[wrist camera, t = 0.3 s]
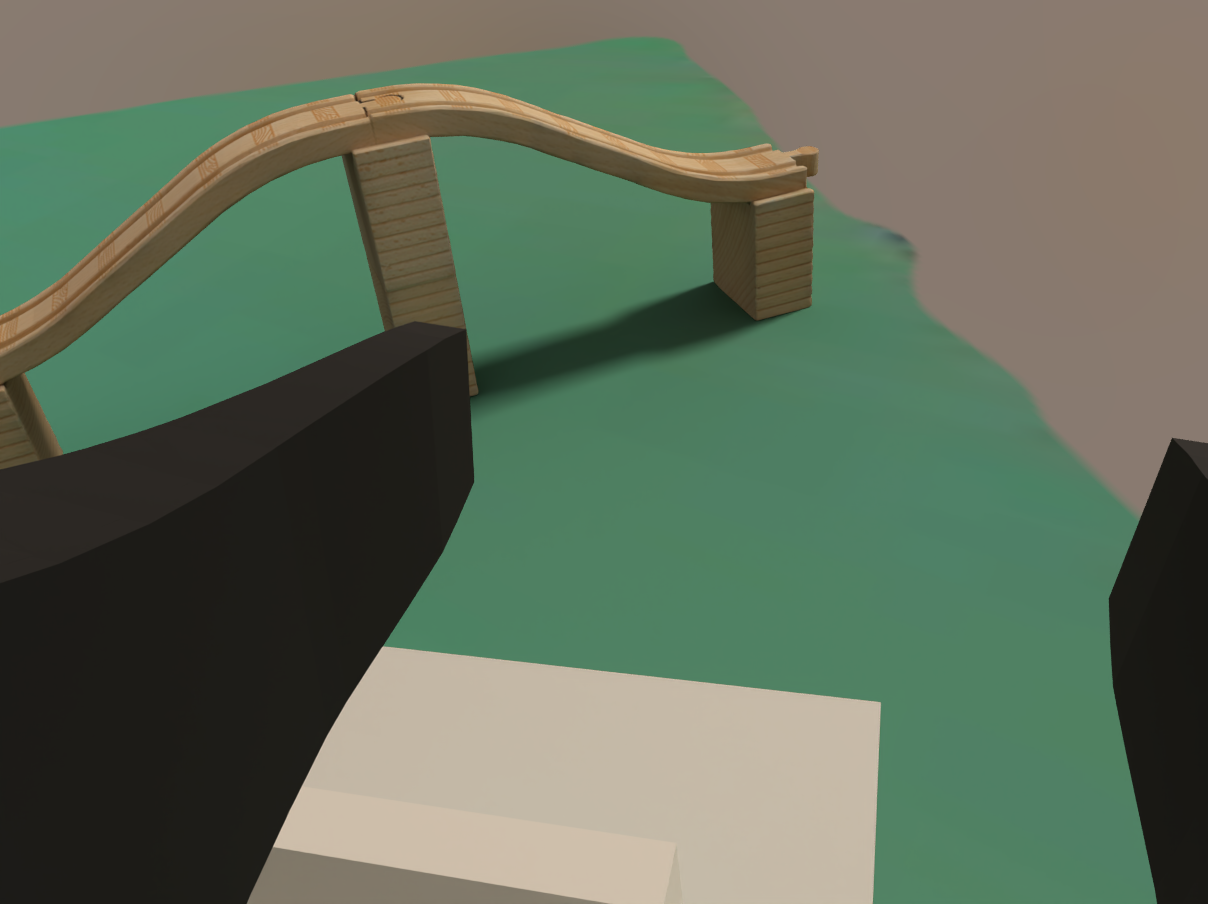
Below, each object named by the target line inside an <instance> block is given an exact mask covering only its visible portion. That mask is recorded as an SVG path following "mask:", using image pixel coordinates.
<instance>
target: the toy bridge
mask: <svg viewBox="0 0 1208 904" xmlns="http://www.w3.org/2000/svg"><path fill="white" fill-rule="evenodd" d="M448 136H472V137H480V138H487V139H493V140H500V141H505V142H510V143H514V144H518V145H522V146H526V147H529V148H532V149H535V150H537V151H540V152H543V153H546V154H548V155H551V156H554V157H557V158H560V159H564V160H567V161H570V162H574V163H576V164H579V165H582V166H585V167H588V168H591V169H594V170H597V171H600V172H603V173H606V174H609V175H612V176H616V177H619V178H622V179H625V180H628V181H631V182H634V183H636V184H638V185H641V186H644V187H647V188H650V189H653V190H656V191H659V192H662V193H665V194H669V195H673V196H677V197H680V198H684V199H689V200H695V201H701V202H707V203H711V227H712V249H713V269H714V274H713V278H714V282H715V283H716V284H717V285H718V287H719V288H720V289H721V290H723V291H724V292H725V293H726V294H727V295H728V296H729V297H730V298H731V299H732V300H734V301H735V302H736V303H737V304H738V305H739V306H740V307H741V308H742V309H743V310H745V311H746V312H747V313H748V314H749V315H750V316H751V317H752V318H754V319H755V320H761V319H765V318H769V317H773V316H777V315H781V314H784V313H788V312H792V311H796V310H800V309H803V308H807V307H810V306H811V305H812V298H811V294H812V286H811V284H812V269H813V266H812V259H813V253H812V248H813V222H814V221H813V211H814V207H813V200H814V191H813V190H812V189H808V188H807V187H806V179H807V177H810V176H814V175H816V174H817V172H818V154H819V153H818V152H819V151H818V149H817V148H814V147H811V146H807V147H801V148H799V149H797V150H795V151H790V152H785V153H782V152H780V151H779V150H775V151H772V147H771V145H770V144H763V145H758V146H754V147H749V148H745V149H740V150H734V151H727V152H718V153H685V152H677V151H670V150H665V149H660V148H656V147H651V146H648V145H645V144H642V143H639V142H636V141H634V140H631V139H628V138H625V137H623V136H620V135H617V134H614V133H611V132H608V131H605V130H602V129H599V128H597V127H594V126H591V125H588V124H585V123H583V122H580V121H577V120H574V119H571V118H569V117H565V116H562V115H558V114H555V113H552V112H550V111H547V110H545V109H542V108H539V107H537V106H534V105H531V104H528V103H526V102H523V101H520V100H517V99H514V98H511V97H508V96H505V95H502V94H498V93H494V92H490V91H486V90H482V89H478V88H473V87H466V86H460V85H448V84H404V85H393V86H387V87H381V88H375V89H369V90H363V91H359V92H357V93H355V95H351V94H349V95H344V96H339V97H334V98H330V99H325V100H320V101H316V102H312V103H308V104H304V105H300V106H296V107H292V108H289V109H286V110H283V111H280V112H277V113H273V114H271V115H269V116H267V117H264V118H262V119H260V120H258V121H256V122H253V123H251V124H249V125H247V126H245V127H242V128H241V129H239V130H237V131H236V132H234V133H232V134H231V135H229V136H227V137H226V138H224V139H222V140H221V141H219V142H217V143H216V144H215V145H213V146H212V147H210V148H209V149H208V150H206V151H205V152H203V153H202V154H201V155H200V156H198V157H197V158H196V159H195V160H193V161H192V162H191V163H190V164H188V165H187V166H186V167H185V168H184V169H183V170H182V171H181V172H180V173H178V174H177V175H176V176H175V177H174V178H173V179H172V180H171V181H170V182H168V183H167V184H166V185H165V186H164V187H163V188H162V189H161V190H160V191H158V192H157V193H156V194H155V195H154V196H153V197H152V198H151V199H150V200H148V201H147V202H146V203H145V204H144V205H143V206H142V207H140V208H139V209H138V210H137V211H136V212H135V213H133V214H132V215H131V216H130V217H129V218H128V219H127V220H126V221H124V222H123V223H122V224H121V225H120V226H119V227H118V228H117V229H116V230H114V231H113V232H112V233H111V234H110V235H109V236H108V237H107V238H105V239H104V240H103V241H102V242H101V243H100V244H99V245H98V246H97V247H96V248H94V249H93V250H92V251H91V252H90V253H89V254H88V255H87V256H86V257H84V258H83V259H82V260H81V261H80V262H79V263H78V264H77V265H76V266H75V267H73V268H72V269H71V270H70V271H69V272H68V273H67V274H66V275H65V276H63V277H62V278H61V279H60V280H59V281H57V282H56V283H54V284H53V285H51V286H50V287H49V288H47V289H46V290H44V291H43V292H41V293H40V294H38V295H37V296H35V297H34V298H32V299H30V300H29V301H27V302H25V303H24V304H22V305H20V306H19V307H17V308H15V309H13V310H11V311H9V312H7V313H5V314H3V315H0V469H4V468H9V467H13V466H17V465H21V464H26V463H30V462H34V461H38V460H43V459H47V458H51V457H55V456H60V455H63V451H62V449H61V447H60V445H59V444H58V441H57V439H56V436H55V434H54V433H53V431H52V429H51V426H50V424H49V423H48V421H47V419H46V417H45V414H44V412H43V410H42V408H41V406H40V404H39V401H38V400H37V398H36V396H35V394H34V392H33V390H32V387H31V385H30V383H29V381H28V379H27V377H26V375H25V372H27V371H29V370H31V369H33V368H35V367H36V366H38V365H40V364H42V363H43V362H45V361H46V360H48V359H50V358H51V357H53V356H55V355H56V354H58V353H59V352H61V351H62V350H64V349H65V348H67V347H68V346H69V345H70V344H72V343H73V342H74V341H76V340H77V339H78V338H79V337H81V336H82V335H83V334H84V333H86V332H87V331H88V330H89V329H90V328H92V327H93V326H94V325H95V324H96V323H97V322H98V321H100V320H101V319H102V318H103V317H104V316H105V315H106V314H108V313H109V312H110V311H111V310H112V309H113V308H114V307H115V306H116V305H118V304H119V303H120V302H121V301H122V300H123V299H124V298H125V297H126V296H128V295H129V294H130V293H131V292H132V291H134V290H135V289H136V288H137V287H138V286H140V285H141V284H142V283H143V282H144V281H145V280H146V279H148V278H149V277H150V276H151V275H152V274H153V273H155V272H156V271H157V270H158V269H159V268H160V267H161V266H163V265H164V264H165V263H166V262H167V261H168V260H169V259H171V258H172V257H173V256H174V255H175V254H176V253H177V252H178V251H180V250H181V249H182V248H183V247H184V246H185V245H186V244H188V243H189V242H190V241H191V240H192V239H193V238H194V237H196V236H197V235H198V234H199V233H200V232H201V231H202V230H203V229H205V228H206V227H207V226H208V225H209V224H210V223H211V222H213V221H214V220H215V219H216V218H217V217H218V216H219V215H221V214H222V213H223V212H224V211H226V210H227V209H229V208H230V207H231V206H233V205H234V204H236V203H237V202H238V201H240V200H241V199H243V198H244V197H245V196H247V195H248V194H250V193H252V192H253V191H255V190H257V189H258V188H260V187H262V186H264V185H265V184H267V183H269V182H270V181H272V180H274V179H277V178H279V177H281V176H283V175H285V174H287V173H290V172H292V171H294V170H297V169H299V168H302V167H304V166H307V165H310V164H313V163H316V162H320V161H323V160H326V159H329V158H333V157H337V156H341V155H342V159H343V163H344V167H345V171H346V175H347V179H348V183H349V187H350V191H351V195H352V199H353V203H354V208H355V212H356V216H357V220H358V224H359V228H360V232H361V236H362V240H363V244H364V247H365V251H366V255H367V260H368V264H369V268H370V272H371V276H372V280H373V284H374V288H375V292H376V296H377V300H378V305H379V309H380V313H381V317H382V321H383V325H384V329H385V331H387V330H390V329H393V328H395V327H398V326H401V325H404V324H407V323H411V322H414V321H417V322H423V323H430V324H436V325H443V326H449V327H456V328H462V329H466V325H465V320H464V314H463V309H462V304H461V299H460V294H459V288H458V283H457V278H456V273H455V266H454V261H453V256H452V251H451V245H450V240H449V236H448V231H447V226H446V221H445V215H444V209H443V204H442V199H441V194H440V189H439V183H438V179H437V172H436V167H435V163H434V156H433V152H432V149H431V141H430V137H448ZM466 334H467V330H466ZM467 353H468V372H469V391H470V396H474V395H477V394H478V387H477V383H476V377H475V372H474V367H473V361H472V356H471V351H470V345H469V340H468V336H467Z"/></svg>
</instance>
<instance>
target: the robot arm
mask: <svg viewBox="0 0 1208 904" xmlns="http://www.w3.org/2000/svg"><path fill="white" fill-rule="evenodd" d="M473 483H474V467H473V448H472V429H471V410H470V391H469V372H468V353H467V334H466V329H462V328H456V327H449V326H443V325H436V324H430V323H423V322H417V321H414V322H411V323H407V324H404V325H401V326H398V327H395V328H393V329H390V330H387V331H385V332H382V333H380V334H377V335H375V336H373V337H370V338H368V339H366V340H363V341H361V342H359V343H357V344H354V345H352V346H350V347H348V348H345V349H343V350H341V351H339V352H336V353H334V354H332V355H330V356H327V357H325V358H323V359H321V360H318V361H316V362H314V363H312V364H309V365H307V366H305V367H303V368H300V369H298V370H296V371H294V372H291V373H289V374H287V375H285V376H282V377H280V378H278V379H276V380H273V381H271V382H269V383H266V384H264V385H262V386H259V387H257V388H254V389H252V390H249V391H247V392H244V393H242V394H239V395H237V396H234V397H232V398H229V399H227V400H224V401H222V402H219V403H217V404H214V405H212V406H209V407H207V408H204V409H202V410H199V411H197V412H194V413H192V414H189V415H186V416H184V417H181V418H178V419H176V420H173V421H170V422H167V423H164V424H162V425H159V426H156V427H153V428H150V429H147V430H144V431H141V432H138V433H135V434H132V435H128V436H125V437H122V438H118V439H115V440H112V441H109V442H105V443H102V444H99V445H95V446H92V447H89V448H86V449H82V450H78V451H75V452H71V453H67V454H64V455H60V456H55V457H51V458H47V459H43V460H38V461H34V462H30V463H26V464H21V465H17V466H13V467H9V468H4V469H0V904H247V902H248V900H249V897H250V895H251V893H252V891H253V889H254V887H255V884H256V882H257V880H258V878H259V876H260V874H261V871H262V869H263V867H264V865H265V863H266V861H267V859H268V856H269V854H270V852H271V850H272V848H273V846H274V844H275V841H276V839H277V837H278V835H279V833H280V831H281V828H282V826H283V824H284V822H285V820H286V818H287V816H288V813H289V811H290V809H291V807H292V805H293V803H294V801H295V799H296V797H297V795H298V793H299V791H300V789H301V787H302V785H303V783H304V781H305V779H306V777H307V775H308V773H309V771H310V769H311V767H312V765H313V763H314V761H315V759H316V757H317V755H318V753H319V751H320V749H321V747H322V745H323V743H324V741H325V739H326V737H327V735H328V733H329V732H330V730H331V728H332V726H333V725H334V723H335V721H336V720H337V718H338V716H339V714H340V713H341V711H342V709H343V708H344V706H345V704H346V702H347V701H348V699H349V698H350V696H351V695H352V693H353V691H354V690H355V688H356V687H357V685H358V684H359V682H360V681H361V679H362V678H363V676H364V674H365V673H366V671H367V670H368V668H369V667H370V665H371V664H372V662H373V661H374V659H375V657H376V656H377V654H378V653H379V651H380V650H381V648H382V647H383V645H384V644H385V642H386V640H387V639H388V637H389V636H390V634H391V633H392V631H393V630H394V628H395V627H396V625H397V624H398V622H399V620H400V619H401V617H402V616H403V614H404V613H405V611H406V610H407V608H408V607H409V605H410V603H411V602H412V600H413V599H414V597H415V596H416V594H417V592H418V591H419V589H420V588H421V586H422V584H423V583H424V581H425V580H426V578H427V577H428V575H429V573H430V572H431V570H432V569H433V567H434V565H435V564H436V562H437V561H438V559H439V557H440V556H441V554H442V552H443V550H444V548H445V546H446V544H447V542H448V540H449V538H450V535H451V533H452V531H453V529H454V527H455V525H456V523H457V521H458V518H459V516H460V514H461V511H462V509H463V507H464V504H465V502H466V500H467V497H468V495H469V493H470V490H471V488H472V486H473ZM1109 618H1110V647H1111V662H1112V678H1113V689H1114V694H1115V699H1116V705H1117V710H1118V715H1119V720H1120V725H1121V730H1122V735H1123V740H1124V745H1125V750H1126V755H1127V759H1128V764H1129V769H1130V774H1131V778H1132V783H1133V788H1134V793H1135V797H1136V802H1137V807H1138V812H1139V816H1140V821H1141V826H1142V831H1143V835H1144V840H1145V845H1146V850H1147V854H1148V859H1149V864H1150V869H1151V873H1152V878H1153V883H1154V888H1155V893H1156V899H1157V904H1208V443H1201V442H1195V441H1189V440H1183V439H1176V438H1172V440H1171V442H1170V445H1169V447H1168V450H1167V452H1166V455H1165V457H1164V460H1163V463H1162V465H1161V468H1160V470H1159V473H1158V476H1157V478H1156V480H1155V483H1154V485H1153V488H1152V490H1151V493H1150V496H1149V499H1148V501H1147V503H1146V506H1145V508H1144V511H1143V513H1142V516H1141V518H1140V521H1139V523H1138V526H1137V528H1136V531H1135V533H1134V536H1133V539H1132V541H1131V544H1130V546H1129V549H1128V551H1127V554H1126V556H1125V559H1124V561H1123V564H1122V567H1121V569H1120V572H1119V574H1118V577H1117V579H1116V582H1115V584H1114V587H1113V589H1112V592H1111V594H1110V597H1109Z"/></svg>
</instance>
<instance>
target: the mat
mask: <svg viewBox="0 0 1208 904" xmlns="http://www.w3.org/2000/svg"><path fill="white" fill-rule="evenodd" d="M880 707H881V702H873V701H864V700H855V699H846V698H837V697H828V696H819V695H810V694H802V693H793V692H784V691H775V690H766V689H757V688H748V687H739V686H730V685H721V684H712V683H704V682H695V681H686V680H677V679H668V678H659V677H650V676H641V675H632V674H623V673H614V672H606V671H597V670H588V669H579V668H570V667H561V666H552V665H543V664H534V663H525V662H516V661H508V660H499V659H490V658H481V657H472V656H463V655H454V654H445V653H436V652H427V651H418V650H410V649H401V648H392V647H382V648H381V650H380V651H379V653H378V654H377V656H376V657H375V659H374V661H373V662H372V664H371V665H370V667H369V668H368V670H367V671H366V673H365V674H364V676H363V678H362V679H361V681H360V682H359V684H358V685H357V687H356V688H355V690H354V691H353V693H352V695H351V696H350V698H349V699H348V701H347V702H346V704H345V706H344V708H343V709H342V711H341V713H340V714H339V716H338V718H337V720H336V721H335V723H334V725H333V726H332V728H331V730H330V732H329V733H328V735H327V737H326V739H325V741H324V743H323V745H322V747H321V749H320V751H319V753H318V755H317V757H316V759H315V761H314V763H313V765H312V767H311V769H310V771H309V773H308V775H307V777H306V779H305V781H304V783H303V785H302V786H303V787H310V788H316V789H323V790H329V791H336V792H343V793H349V794H356V795H362V796H369V797H376V798H382V799H389V800H396V801H402V802H409V803H415V804H422V805H429V806H435V807H442V808H448V809H455V810H462V811H468V812H475V813H481V814H488V815H495V816H501V817H508V818H515V819H521V820H528V821H534V822H541V823H548V824H554V825H561V826H567V827H574V828H581V829H587V830H594V831H601V832H607V833H614V834H620V835H627V836H634V837H640V838H647V839H653V840H660V841H667V842H673V843H677V852H678V862H679V872H680V881H681V891H682V901H683V904H873V883H874V858H875V833H876V808H877V783H878V757H879V732H880Z"/></svg>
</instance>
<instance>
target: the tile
mask: <svg viewBox="0 0 1208 904" xmlns="http://www.w3.org/2000/svg"><path fill="white" fill-rule="evenodd" d="M247 904H683V901H682V891H681V881H680V872H679V862H678V852H677V843H673V842H667V841H660V840H653V839H647V838H640V837H634V836H627V835H620V834H614V833H607V832H601V831H594V830H587V829H581V828H574V827H567V826H561V825H554V824H548V823H541V822H534V821H528V820H521V819H515V818H508V817H501V816H495V815H488V814H481V813H475V812H468V811H462V810H455V809H448V808H442V807H435V806H429V805H422V804H415V803H409V802H402V801H396V800H389V799H382V798H376V797H369V796H362V795H356V794H349V793H343V792H336V791H329V790H323V789H316V788H310V787H303V786H302V787H301V789H300V791H299V793H298V795H297V797H296V799H295V801H294V803H293V805H292V807H291V809H290V811H289V813H288V816H287V818H286V820H285V822H284V824H283V826H282V828H281V831H280V833H279V835H278V837H277V839H276V841H275V844H274V846H273V848H272V850H271V852H270V854H269V856H268V859H267V861H266V863H265V865H264V867H263V869H262V871H261V874H260V876H259V878H258V880H257V882H256V884H255V887H254V889H253V891H252V893H251V895H250V897H249V900H248V902H247Z"/></svg>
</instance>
